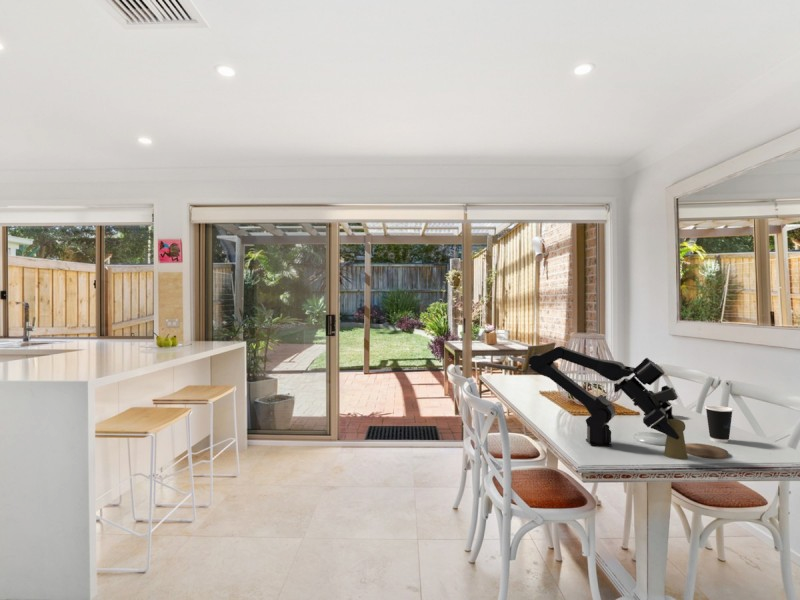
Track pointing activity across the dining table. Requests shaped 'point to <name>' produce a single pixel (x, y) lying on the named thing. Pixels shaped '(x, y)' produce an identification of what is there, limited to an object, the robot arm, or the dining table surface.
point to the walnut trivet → (706, 451)
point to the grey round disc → (651, 438)
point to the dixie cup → (719, 422)
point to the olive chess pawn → (676, 441)
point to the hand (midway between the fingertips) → (680, 435)
